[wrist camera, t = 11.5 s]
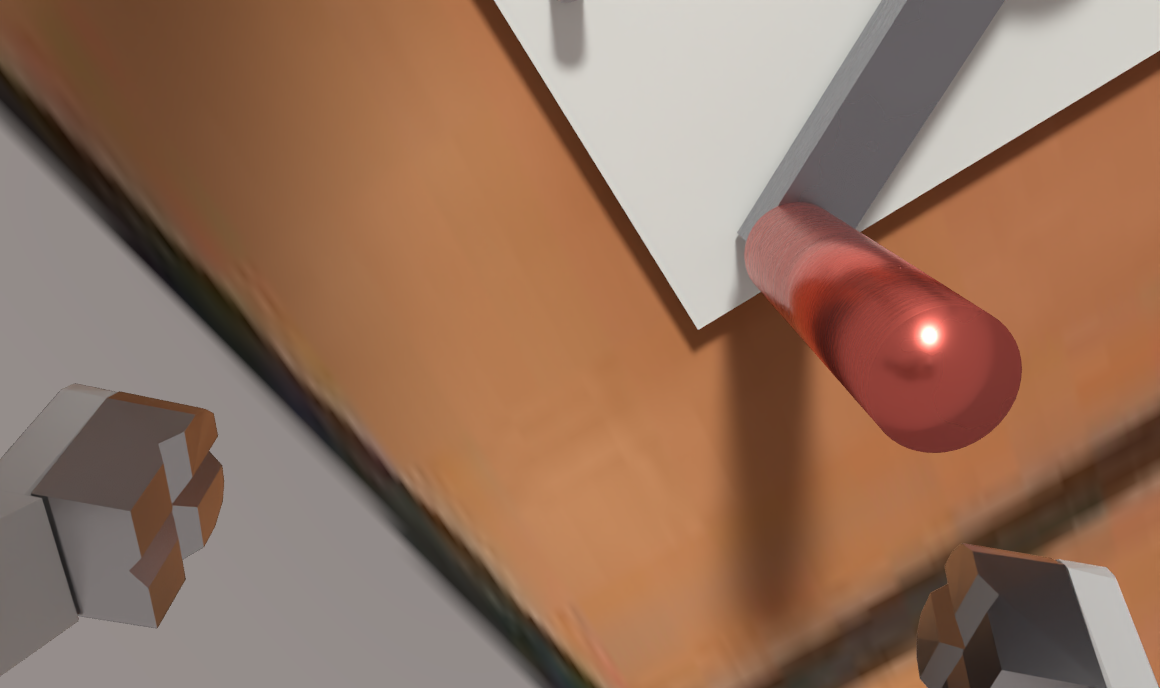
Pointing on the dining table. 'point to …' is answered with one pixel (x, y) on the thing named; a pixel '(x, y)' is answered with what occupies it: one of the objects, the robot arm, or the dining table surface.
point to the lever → (865, 268)
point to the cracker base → (786, 104)
